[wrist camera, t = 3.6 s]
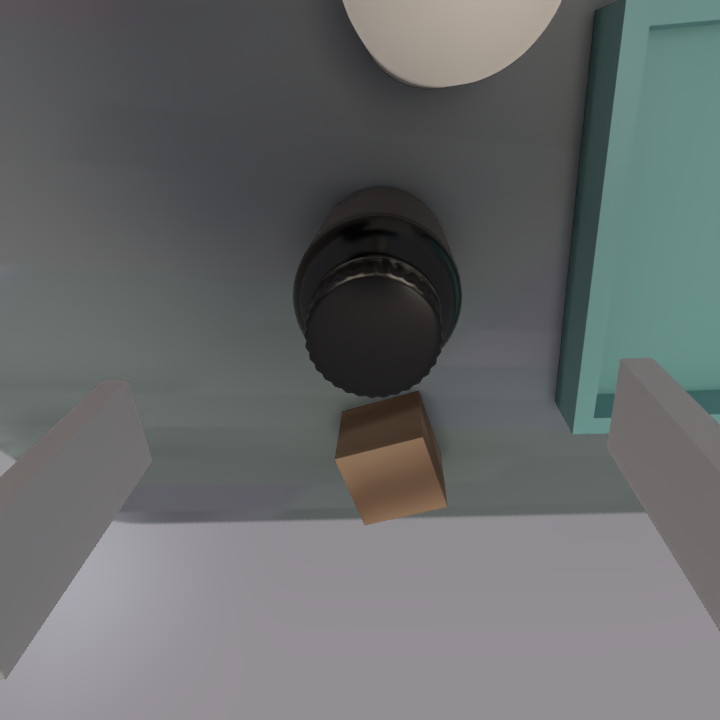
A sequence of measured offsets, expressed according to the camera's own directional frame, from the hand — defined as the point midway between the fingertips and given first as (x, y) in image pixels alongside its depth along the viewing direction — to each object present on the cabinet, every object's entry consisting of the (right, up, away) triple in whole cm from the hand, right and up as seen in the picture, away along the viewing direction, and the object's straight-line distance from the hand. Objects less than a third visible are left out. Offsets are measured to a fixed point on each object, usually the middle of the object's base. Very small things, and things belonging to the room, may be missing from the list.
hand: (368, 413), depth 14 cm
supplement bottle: (+1, +8, +14) cm, 16 cm away
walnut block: (+2, -3, +20) cm, 20 cm away
